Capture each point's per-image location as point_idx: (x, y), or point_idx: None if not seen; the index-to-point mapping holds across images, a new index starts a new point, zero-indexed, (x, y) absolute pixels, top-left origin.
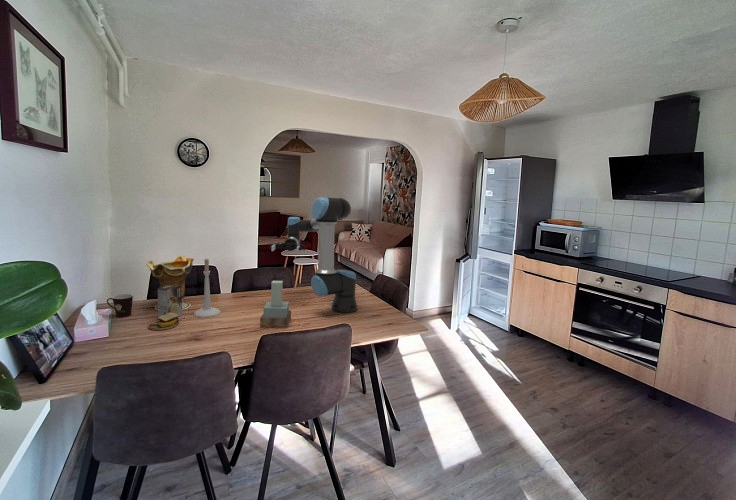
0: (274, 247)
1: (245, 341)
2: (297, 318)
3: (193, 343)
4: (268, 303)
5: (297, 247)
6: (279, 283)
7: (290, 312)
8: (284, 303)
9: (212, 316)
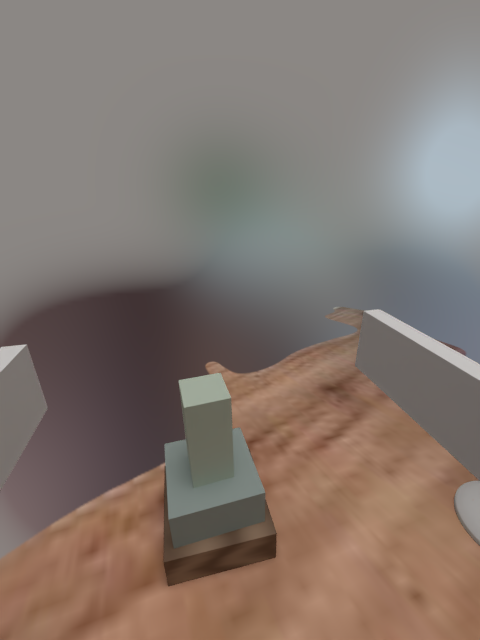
0: (436, 396)
1: (239, 401)
2: (137, 601)
3: (320, 378)
4: (247, 470)
5: (13, 348)
6: (188, 380)
7: (164, 545)
8: (184, 492)
9: (454, 501)
